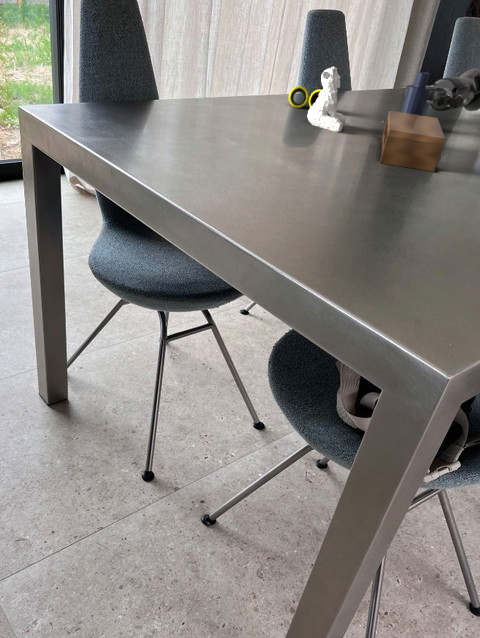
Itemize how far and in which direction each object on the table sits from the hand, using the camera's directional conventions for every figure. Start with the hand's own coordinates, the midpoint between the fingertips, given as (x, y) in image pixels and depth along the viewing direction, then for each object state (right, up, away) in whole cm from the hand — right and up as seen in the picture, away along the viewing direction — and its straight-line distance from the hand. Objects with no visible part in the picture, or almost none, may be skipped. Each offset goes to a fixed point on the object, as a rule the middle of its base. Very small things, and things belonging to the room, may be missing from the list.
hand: (422, 97), depth 135 cm
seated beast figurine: (-25, -9, -6) cm, 27 cm away
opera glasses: (-26, +2, +10) cm, 28 cm away
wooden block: (-12, -22, -21) cm, 32 cm away
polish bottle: (-3, -7, +2) cm, 7 cm away
